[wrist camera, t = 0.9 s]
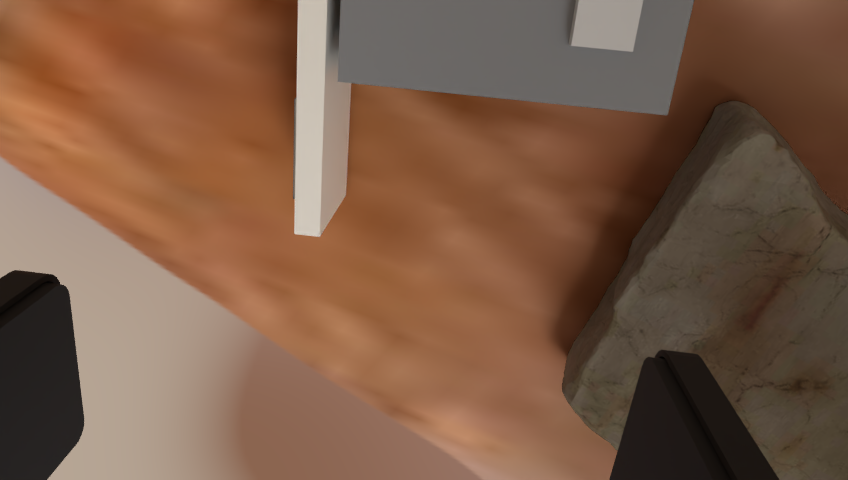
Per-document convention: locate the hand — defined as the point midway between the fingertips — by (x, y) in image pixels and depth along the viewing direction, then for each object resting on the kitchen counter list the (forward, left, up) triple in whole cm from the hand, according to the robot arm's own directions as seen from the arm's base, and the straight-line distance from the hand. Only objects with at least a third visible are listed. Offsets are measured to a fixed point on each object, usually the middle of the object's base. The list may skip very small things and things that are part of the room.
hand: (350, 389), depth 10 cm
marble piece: (-16, +7, -20) cm, 27 cm away
